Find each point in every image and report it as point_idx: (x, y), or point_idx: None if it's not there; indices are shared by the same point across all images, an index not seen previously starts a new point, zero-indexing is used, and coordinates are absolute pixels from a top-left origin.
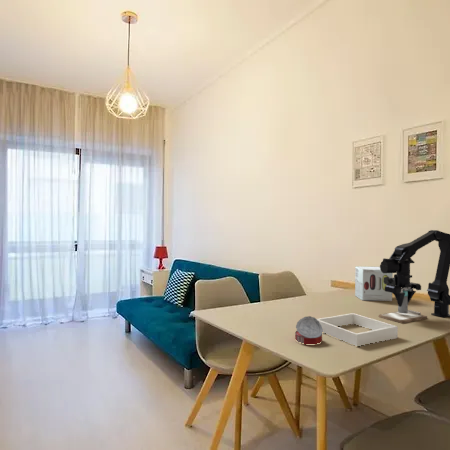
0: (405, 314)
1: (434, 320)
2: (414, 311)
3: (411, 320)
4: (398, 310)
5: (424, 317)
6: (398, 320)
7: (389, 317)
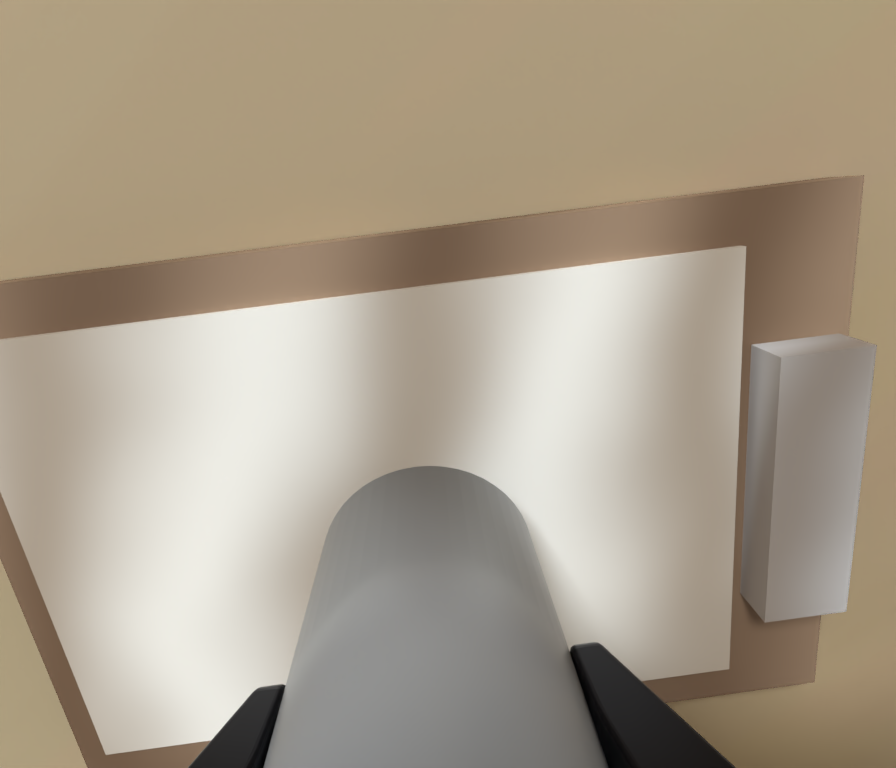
0: (521, 508)
1: (774, 751)
2: (828, 503)
3: None
4: (322, 551)
5: (729, 681)
6: (76, 727)
7: (18, 552)
